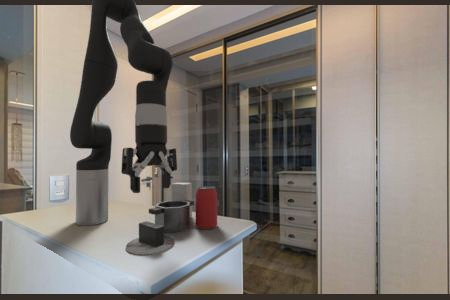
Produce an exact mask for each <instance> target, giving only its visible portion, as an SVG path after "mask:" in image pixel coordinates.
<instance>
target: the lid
mask: <svg viewBox="0 0 450 300" xmlns="http://www.w3.org/2000/svg"><path fill="white" fill-rule="evenodd" d="M174 245H175V239H174V238H173V237H172V236H170V235H167V234H165V233H164V226H161V225H158V224H155V222H151V221H147V220H146V221H142V222H139V223H138V237H136V238H133V239H132V240H130V241H129V242H128V243H127V244H126V246H125V249H126V251H127V253H129V254H132V255H137V256H149V254H151V255H157V254H160V253H163V252H166V251H168V250H169V249H171V248H173V246H174Z"/></svg>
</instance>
